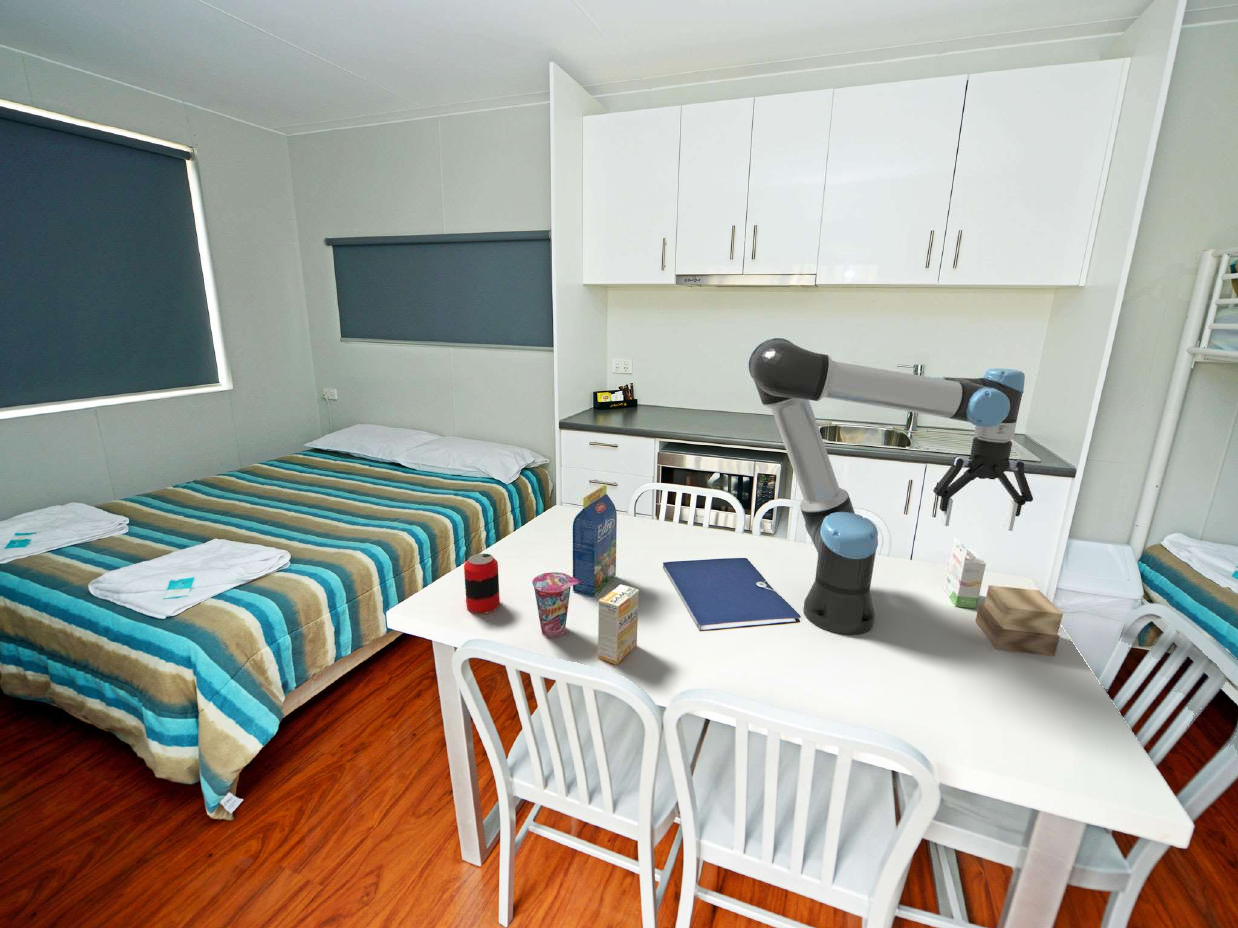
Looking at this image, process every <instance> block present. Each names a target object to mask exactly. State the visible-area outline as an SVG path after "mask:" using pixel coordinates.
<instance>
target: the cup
mask: <svg viewBox="0 0 1238 928" xmlns="http://www.w3.org/2000/svg"><path fill="white" fill-rule="evenodd" d="M531 583H532V587H533V590H534V594H535V599H536V600H535V601H536V606H537V614H538V619H539V625H540V629H541V634H542V635H543V636H544V637H546V638H552V639H553V638H560V637H561V636H563V635H564V634H565V633H566V628H567V627H566V625H567V619H568V610H569V603H570V597H571V595H570V593H571V587H573V585H575V584H578V583H579V581H578V580H577V579H575V578H573V576H571V575H569V574H567V573H564V572H558V571H557V572H556V571H552V572H544V573H541V574H538V575H536V576H535V577H533V579H532V582H531Z"/></svg>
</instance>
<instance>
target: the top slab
mask: <svg viewBox="0 0 1238 928" xmlns="http://www.w3.org/2000/svg"><path fill="white" fill-rule="evenodd" d="M984 604H985V607H986V608H987V609H988V610H989V612H990V613H991V614H992V616H993V617H994V618H995V619H996V621H997V622H998V623H999V625H1000V626H1001V627H1002V628H1003V629H1006V630H1014V631H1023V632H1031V633H1040V634H1048V635H1059V630H1060V627H1061V623H1062V618H1063V615H1064V613H1063V612H1062V611H1061V610H1059V608H1057V605H1056V606H1055V604H1054V603H1053V602H1052V601H1051V600H1050V599H1049V598H1048V597H1046V596H1045V595H1044V593H1042V591H1040V590H1038V589H1030V588H1029V589H1028V588H1022V587H1021V588H1020V587H1009V586H1000V585H989V584H988V587H987V592H986V597H985V601H984Z"/></svg>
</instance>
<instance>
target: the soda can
mask: <svg viewBox="0 0 1238 928" xmlns="http://www.w3.org/2000/svg"><path fill="white" fill-rule="evenodd" d="M463 571H464V573H463V574H464V587H465V589H464V590H465V602H466V603H465V604H466V609H467V610H468V611H469V612H471V613H473V614H480V615H481V614H488V613H491V612H493V611H495V610H496V609H497V608H498V607H500V604H501V601H500V582H499V581H500V580H499V563H498V560H497V559H496V558H495V557H494V556H493V555H492V554H489V553H476V554H473V555H471V556H469V557H468V559H467V560H466V561H465V563H464V565H463Z"/></svg>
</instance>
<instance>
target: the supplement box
mask: <svg viewBox="0 0 1238 928" xmlns="http://www.w3.org/2000/svg"><path fill="white" fill-rule="evenodd" d="M639 594H640V590H639V589H637V588H635V587H631V586H629V585H623V584H619V585H618V586H616V587H615V588H613V589H612V590H611V591H609V592H608V593H607V594H605V595H604V596H602V597H601V598H600V599H598V618H597V619H598V622H597V624H598V626H597V627H598V629H597V630H598V637H597V639H598V641H597V657H598V659H602V660H603V661H607V662H608V663H611V664H614V665H618V664H619V663H620V662H621V660H623V659H624V658H625V657H626V655H628V654H629V653H630V652H631V651H632V650H633V649H634V648H636V647H637V645H638V625H639V624H638V621H639Z"/></svg>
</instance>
